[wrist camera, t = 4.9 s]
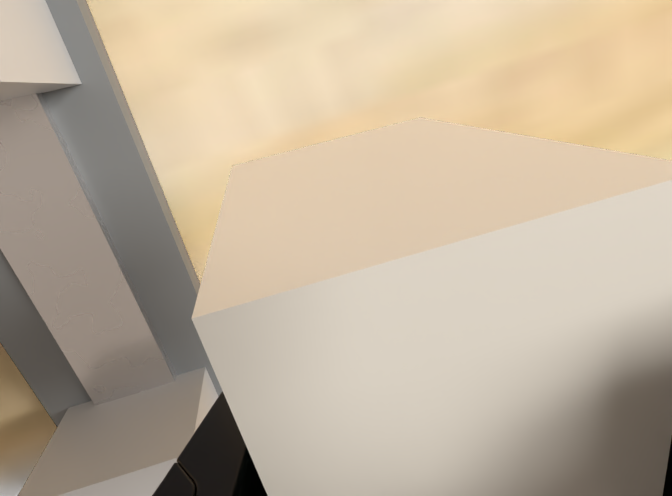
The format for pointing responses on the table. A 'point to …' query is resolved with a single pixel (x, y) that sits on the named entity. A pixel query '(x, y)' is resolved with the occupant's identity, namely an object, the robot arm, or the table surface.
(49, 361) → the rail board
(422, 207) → the block
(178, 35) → the table surface
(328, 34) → the table surface
